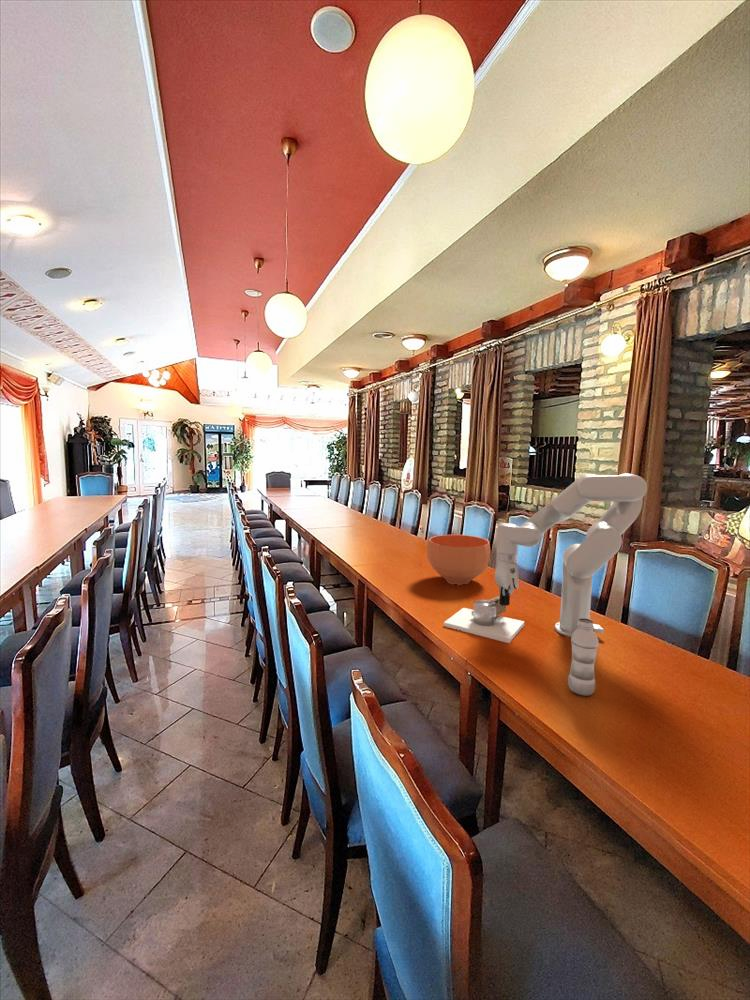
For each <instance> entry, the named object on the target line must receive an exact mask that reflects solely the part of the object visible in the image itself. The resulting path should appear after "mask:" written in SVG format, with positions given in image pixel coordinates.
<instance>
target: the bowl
mask: <svg viewBox="0 0 750 1000" xmlns="http://www.w3.org/2000/svg"><path fill="white" fill-rule="evenodd" d="M490 543H491V542H490V540H488V539H486V538H484V537H480V536H475V535H469V534H468V535H467V534H441V535H435V536H431V537H430V538H429V539H428V542H427V548H426V553H427V554H426V556H427V559H428V562H429V565H430V566H431V567H432V569H433V571H435V572H436V573H437V574H438V575H439V576H441V577H442V578H443V579H445V582H446V581H447V582H448V584H450V585H454V584H457V585H456V586H463V585H462V584H466V585H468V584H470V581H472V580H473V579H475V578H477V577H478V576H480V575H482V574H483V573H484V572H485V570H486V569H487V568H488V567H489V564H490V561H491V553H492V552H491V551H492V550H491V544H490ZM447 582H446V583H447Z"/></svg>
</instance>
